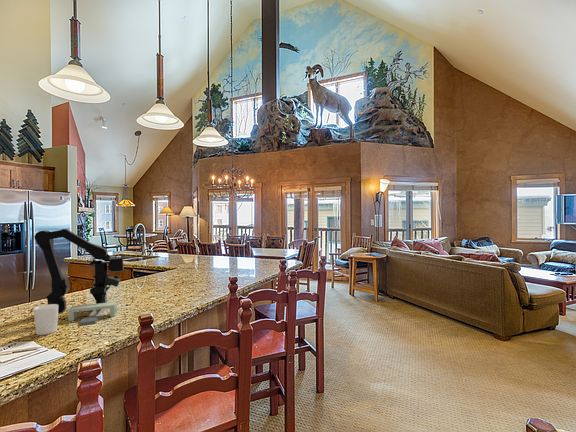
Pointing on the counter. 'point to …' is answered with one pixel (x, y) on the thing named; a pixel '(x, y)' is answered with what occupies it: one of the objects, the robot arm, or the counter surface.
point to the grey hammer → (97, 312)
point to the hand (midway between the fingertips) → (101, 303)
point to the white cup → (46, 319)
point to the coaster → (89, 321)
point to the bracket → (74, 309)
